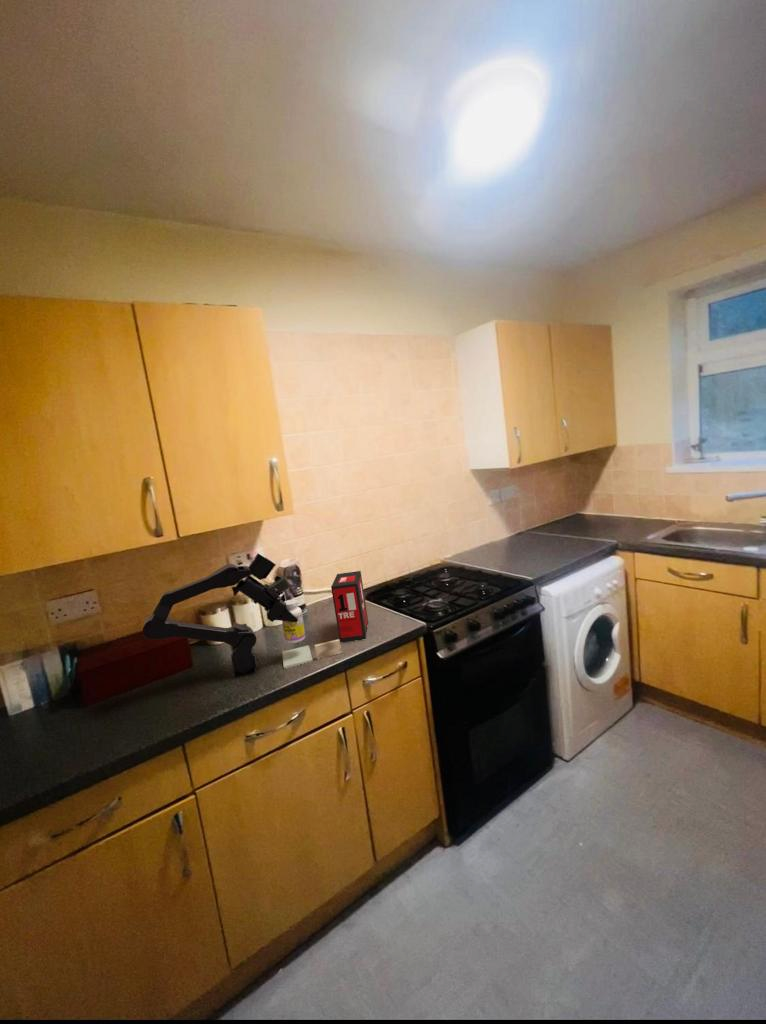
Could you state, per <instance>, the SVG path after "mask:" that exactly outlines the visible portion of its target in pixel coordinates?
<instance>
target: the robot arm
mask: <svg viewBox="0 0 766 1024" xmlns="http://www.w3.org/2000/svg"><path fill="white" fill-rule="evenodd" d="M276 565H277V564H276V563H274V562H273V561H272V560H270V559H269V558H267V557H265V556H263V554H262V555H261V554H260V553H257V554H255V557H254V559H253V560H252V561H251V562H250V564H249V565H242V566H240V565H238V566H237V565H235V564H232V563H228V564H225V565H223V566H222V567H219V568H218V569H216V570H214V572H212V573H211V574H209V575H208V576H205V577H203V578H200V579H197V580H195V581H192V582H190V583H187V584H184V585H182V586H180V587H177V588H175V589H171V590H167V591H164V592H163V593H162V594H161V596H160V599H159V601H158V603H157V604H156V606H155V608H154V610H153V612H152V614H150V615H149V616H147V617H146V619H144V623H143V626H142V633H143V635H144V637H145V638H146V639H149V640H166V639H171V638H181V639H191V640H200V641H208V642H209V641H210V642H217V643H223V644H224V643H225V644H227V645H229V647H230V651H231V654H230V655H231V656H230V658H231V664H232V670H233V678H238V677H243V676H246V675H250V674H253V673H256V669H257V667H258V664H257V658H256V653H255V652H254V651H253V648H254V647H255V645H256V643H257V636H256V634H255V632H254V630H253V629H252V628H251V626H248V625H247V623H243V624H242V623H241V624H240V623H239V622H233V625H232V626H230V627H222V626H221V627H220V626H213V625H204V624H198V623H191V622H182V621H179V620H176V619H174V618H171V617H170V616H169V615H170V613H171V610H172V608H173V607H174V605H176V604H179V603H181V602H184V601H187V600H190V599H192V598H194V597H197V596H199V595H202V594H204V593H206V592H210V591H212V590H215V589H222V588H228V587H231V590H232V592H233V597H236V596H237V595H238V593H239V592H240V593H241V594H243V595H245V597H248V598H249V599H251V600H252V601H253V603H254V604H255V605H257V604H258V605H259V606H261V607H263V608H264V611H266V619H267V620H268V621H270V622H271V623H274V621H281V622H282V621H289V622H297V621H298V619H297V618H296V617H295V616H294V615H293V614H292V613H291V612H290V611H289V610H288V609H287V608H286V602H285V601H287V599H286V595H285V593H284V591H285V590H288V589H289V588H290V587H291V585H290V582H289V581H288V579H287V577H286V576H284V575H282V576H280V575H276V576H275V577H274V582H272V583H271V584H270V585H269V584H267V583H264V584H263V583H262V582H260V581H262V580H265V579H267V578H268V577H269V575H270V574H271V572H272V571H273V569H274V568H275V567H276ZM254 577H255V578H254ZM259 580H260V581H259ZM284 602H285V603H284Z"/></svg>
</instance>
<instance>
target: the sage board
mask: <svg viewBox="0 0 766 1024" xmlns="http://www.w3.org/2000/svg"><path fill="white" fill-rule="evenodd" d="M281 652H282V653H281V655H282V662H283V663H282V664H283V665H282V666H283V669H284V670H286V669H289V667H290V668H294V667H298V666H301V665H300V664H302V665H305V664H304V663H306V664H308V663H307V662H310V663H312V662H311V661H313V657H312V652H311V648H310V645H304V646H300V647H297V648H292V649H289V650H283V651H281ZM313 662H314V661H313ZM297 665H298V666H297ZM293 666H294V667H293ZM285 668H286V669H285Z"/></svg>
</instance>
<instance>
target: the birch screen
mask: <svg viewBox="0 0 766 1024" xmlns="http://www.w3.org/2000/svg"><path fill="white" fill-rule="evenodd" d="M314 649H315V650H314V651H315V655H316V659H318V660H321V659H320V658H322V659H326V658H330V657H329V656H331V657H334V656H333V655H335V656H337V655H336V654H339V655H341V654H340V653H342V647H341V643H340V639H339V638H337V639H333V640H330V641H325V642H322V643H318V644H314ZM325 657H326V658H325Z"/></svg>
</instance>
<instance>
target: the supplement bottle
mask: <svg viewBox="0 0 766 1024" xmlns="http://www.w3.org/2000/svg"><path fill="white" fill-rule="evenodd" d="M285 602H286V608H287V609H288V610H289V611H290V612H291V613H292V614H293V615H294V616H295V617H296V618H297V619H298V621H297V622H289V621H281V622H282V627H283V628H282V629H283V635H284V641H285V642H286V643H288V644H296V643H299V642H301V641H303V640H304V639H305V638H306V631H305V622H304V617H303V616H304V615H303V610H302V609H301V607H299V606H298V604H299V602H298V600H297V599H288V600H287V599H286V601H285ZM285 602H284V603H285Z"/></svg>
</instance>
